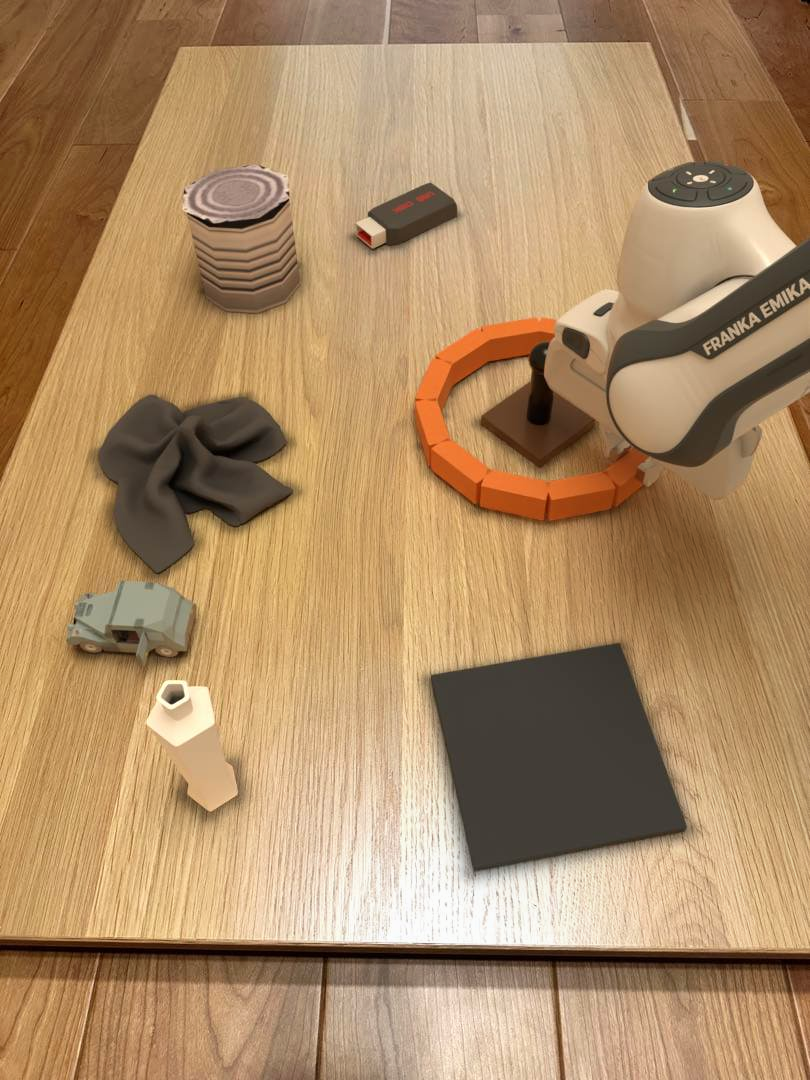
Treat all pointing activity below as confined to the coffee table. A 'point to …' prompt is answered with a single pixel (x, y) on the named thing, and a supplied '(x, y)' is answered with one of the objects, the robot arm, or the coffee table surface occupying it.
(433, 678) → the mat
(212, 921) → the coffee table surface
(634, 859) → the coffee table surface
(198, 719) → the cream vase
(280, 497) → the cloth
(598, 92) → the coffee table surface
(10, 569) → the coffee table surface
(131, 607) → the toy car
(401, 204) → the usb drive
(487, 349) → the hoop
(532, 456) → the post
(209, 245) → the can
